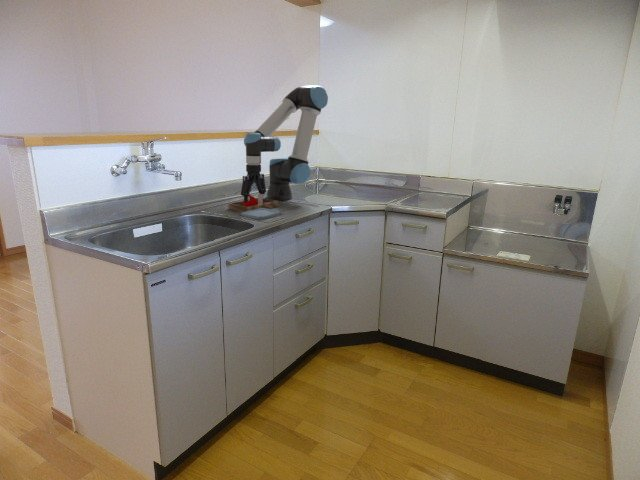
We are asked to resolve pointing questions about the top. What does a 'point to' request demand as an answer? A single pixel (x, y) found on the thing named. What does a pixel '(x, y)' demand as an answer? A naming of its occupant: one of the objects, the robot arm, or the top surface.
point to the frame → (266, 204)
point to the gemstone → (250, 202)
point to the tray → (260, 213)
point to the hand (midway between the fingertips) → (253, 207)
